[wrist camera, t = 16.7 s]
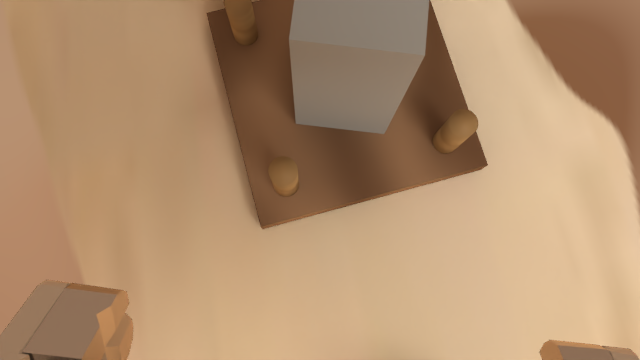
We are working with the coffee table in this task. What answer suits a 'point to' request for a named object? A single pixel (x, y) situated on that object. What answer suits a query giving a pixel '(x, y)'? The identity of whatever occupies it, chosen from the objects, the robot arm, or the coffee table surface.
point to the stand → (330, 143)
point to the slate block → (354, 60)
